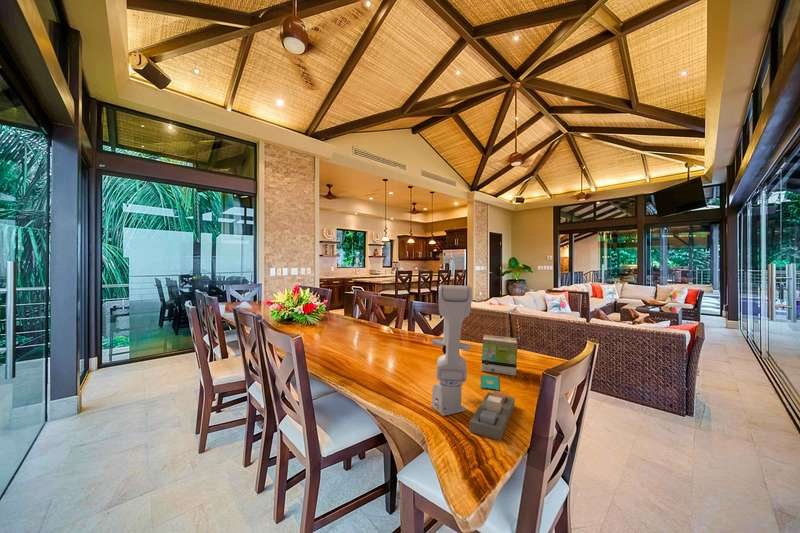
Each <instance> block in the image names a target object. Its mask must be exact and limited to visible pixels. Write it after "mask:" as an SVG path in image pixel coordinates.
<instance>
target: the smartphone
mask: <svg viewBox="0 0 800 533" xmlns="http://www.w3.org/2000/svg"><path fill="white" fill-rule="evenodd" d="M480 389H481V390H486V391H487V390H488V391H493V392H494V391H496V392H500V391H501V387H500V381H499V376H495V375H489V374H488V375H487V374H481V375H480Z"/></svg>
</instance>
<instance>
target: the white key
mask: <svg viewBox="0 0 800 533" xmlns="http://www.w3.org/2000/svg"><path fill="white" fill-rule="evenodd" d="M486 410H487V411H491V412H495V413H499V414H501V412H502V398H499V397H495V396H490V395H489V397H488V398H487V401H486Z"/></svg>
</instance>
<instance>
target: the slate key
mask: <svg viewBox="0 0 800 533" xmlns="http://www.w3.org/2000/svg"><path fill="white" fill-rule="evenodd" d="M496 421H497V413H494V412H490V411H486V410H483V411H482V413H481V415H480V422H483V423H487V424H491V425H494V426H495V425H496Z"/></svg>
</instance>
